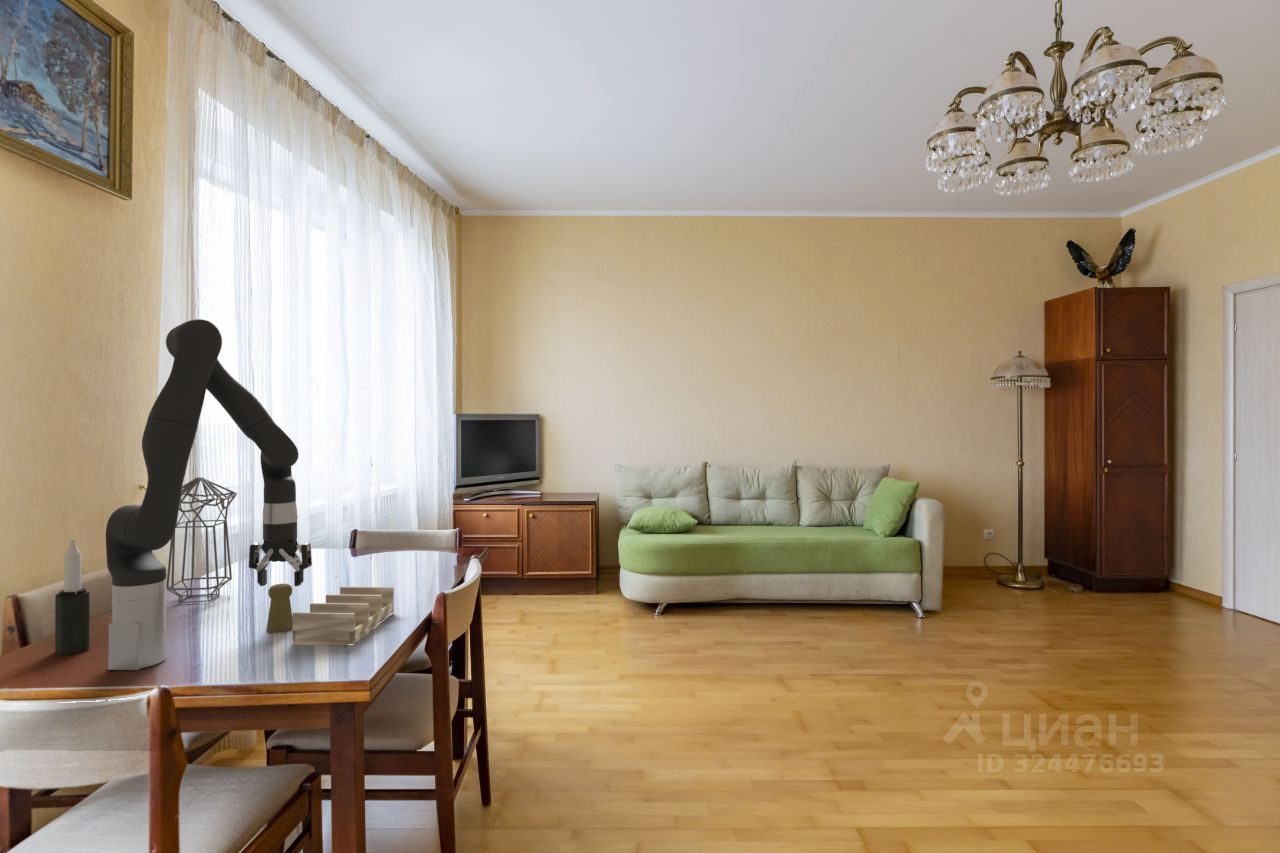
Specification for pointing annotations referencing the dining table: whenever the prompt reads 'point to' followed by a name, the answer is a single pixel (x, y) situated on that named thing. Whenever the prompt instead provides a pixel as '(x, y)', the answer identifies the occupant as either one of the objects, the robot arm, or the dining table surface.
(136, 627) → the robot arm
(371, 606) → the slot rack
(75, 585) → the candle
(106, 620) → the dining table surface
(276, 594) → the cork
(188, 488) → the geometric lantern
